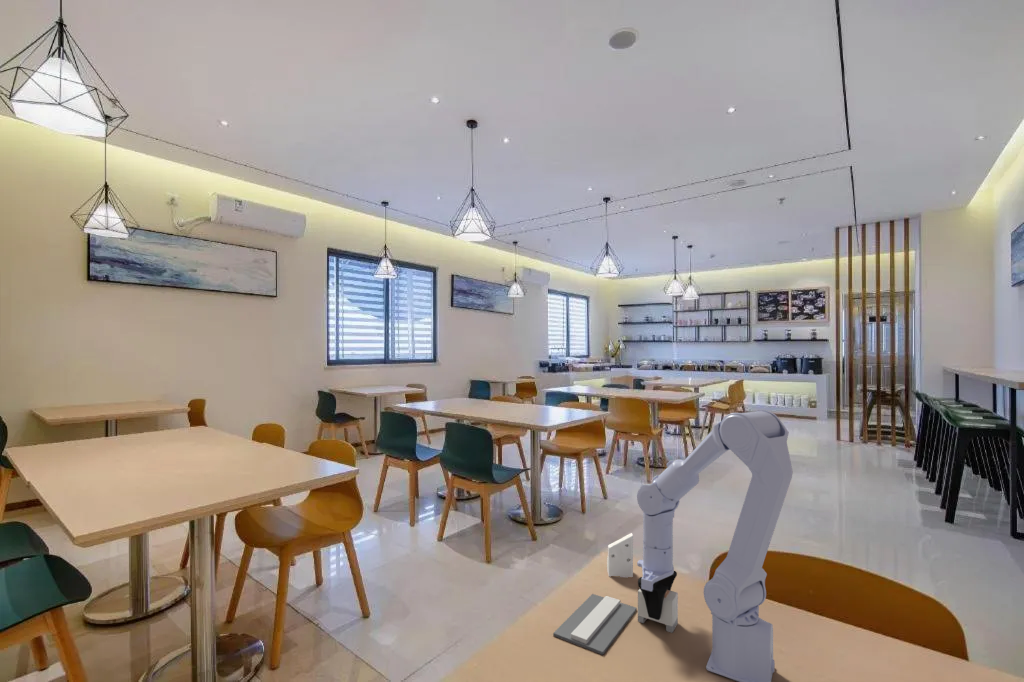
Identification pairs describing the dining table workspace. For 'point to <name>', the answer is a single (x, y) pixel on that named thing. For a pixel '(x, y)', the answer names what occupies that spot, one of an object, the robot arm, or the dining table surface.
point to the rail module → (668, 610)
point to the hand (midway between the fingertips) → (657, 612)
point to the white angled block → (621, 557)
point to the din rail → (596, 623)
